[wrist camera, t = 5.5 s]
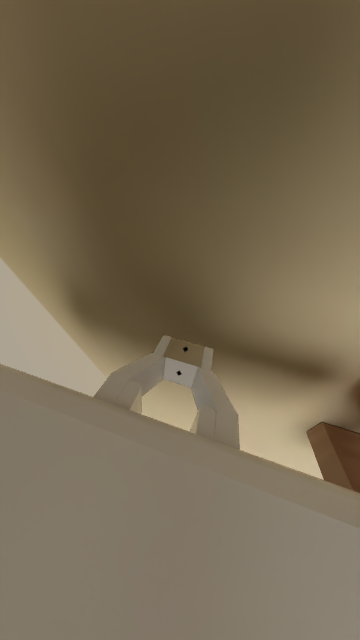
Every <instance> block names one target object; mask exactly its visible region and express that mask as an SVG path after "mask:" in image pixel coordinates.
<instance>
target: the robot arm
mask: <svg viewBox="0 0 360 640" xmlns="http://www.w3.org/2000/svg"><path fill="white" fill-rule="evenodd" d="M212 360H213V348H209V347H204V346H201V345H198V344H194V343H190V342H187V341H183V340H180V339H177V338H173V337H170V336H166V335H164V336H163V337H162V338H161V340H160V342H159V344H158V346H157V347H156V349H155V351H154V353H153V354H152V353H150V354H148V355H146V356H144V357H142V358H140V359H138V360H136V361H134V362H132V363H130V364H128V365H126V366H124V367H122V368H120V369H118V370H117V371H115V372H113V373H111V374H110V376H109V377H108V378H107V380H106V381H105V382H104V384H103V385H102V386H101V388H100V389H99V390H98V392H97V393H96V394H95V396H94V397H92V396H88V395H86V394H83V393H80V392H77V391H75V390H72V389H69V388H66V387H64V386H61V385H58V384H55V383H52V382H50V381H47V380H44V379H41V378H38V377H36V376H33V375H30V374H27V373H25V372H22V371H19V370H16V369H14V368H11V367H8V366H5V365H3V364H0V640H360V493H358V492H355V491H353V490H350V489H347V488H344V487H342V486H339V485H336V484H333V483H330V482H328V481H325V480H322V479H319V478H316V477H314V476H311V475H308V474H305V473H303V472H300V471H297V470H294V469H291V468H289V467H286V466H283V465H280V464H278V463H275V462H272V461H269V460H266V459H264V458H261V457H258V456H255V455H253V454H250V453H247V452H244V451H241V450H240V444H239V424H238V414H237V412H236V411H235V409H234V407H233V405H232V404H231V402H230V400H229V398H228V396H227V395H226V393H225V391H224V389H223V387H222V386H221V384H220V382H219V380H218V378H217V377H216V375H215V373H214V372H212V371H211V369H212ZM163 379H165V380H169V381H172V382H176V383H179V384H181V385H184V386H187V387H190V388H191V390H192V393H193V396H194V400H195V403H196V406H197V409H198V413H197V415H196V418H195V420H194V422H193V425H192V427H191V429H190V432H189V431H186V430H183V429H180V428H178V427H175V426H172V425H169V424H167V423H164V422H161V421H158V420H155V419H153V418H150V417H147V416H144V415H142V414H141V412H142V399H141V397H142V396H143V395H144V394H145V393H147V392H148V391H149V390H150V389H152V388H153V387H154V386H155V385H157V384H158V383H159V382H160V381H162V380H163Z"/></svg>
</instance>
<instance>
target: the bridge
mask: <svg viewBox="0 0 360 640" xmlns="http://www.w3.org/2000/svg"><path fill="white" fill-rule="evenodd" d="M307 435H308V437H309V440H310V443H311V446H312V448H313V451H314V454H315V457H316V459H317V462H318V465H319V467H320V470H321V473H322V476H323V478H324V480H325V481H328V482H330V483H333V484H336V485H339V486H342V487H344V488H347V489H350V490H353V491H355V492H358V493H360V434H358V433H355V432H351V431H348V430H345V429H342V428H339V427H335V426H332V425H329V424H326V423H323V422H322V423H320V424H319V425H317V426H315V427H314V428H312V429H311V430H309V431H308V432H307Z"/></svg>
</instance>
